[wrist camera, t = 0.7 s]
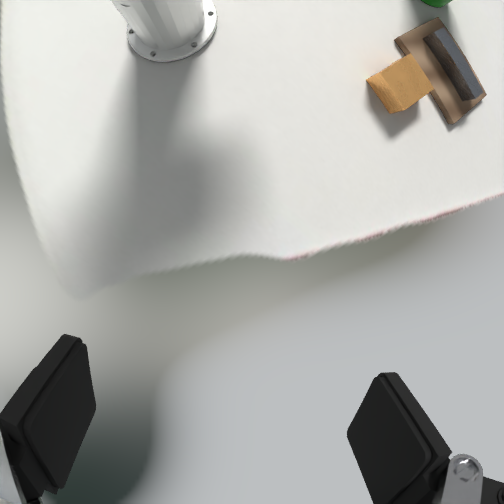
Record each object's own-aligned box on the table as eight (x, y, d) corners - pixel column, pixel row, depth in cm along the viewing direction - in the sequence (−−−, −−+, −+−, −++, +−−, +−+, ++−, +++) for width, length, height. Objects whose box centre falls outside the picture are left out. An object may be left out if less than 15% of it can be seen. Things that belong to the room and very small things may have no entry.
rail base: (394, 39, 34) (398, 36, 32) (433, 19, 32) (438, 17, 31) (448, 124, 38) (454, 123, 36) (481, 95, 36) (486, 94, 35)
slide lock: (366, 79, 36) (379, 72, 31) (395, 61, 35) (410, 53, 31) (389, 113, 37) (405, 109, 33) (417, 93, 36) (434, 88, 32)
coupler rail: (422, 38, 32) (434, 32, 29) (432, 33, 32) (443, 27, 29) (462, 101, 35) (475, 99, 32) (470, 94, 35) (483, 92, 32)
